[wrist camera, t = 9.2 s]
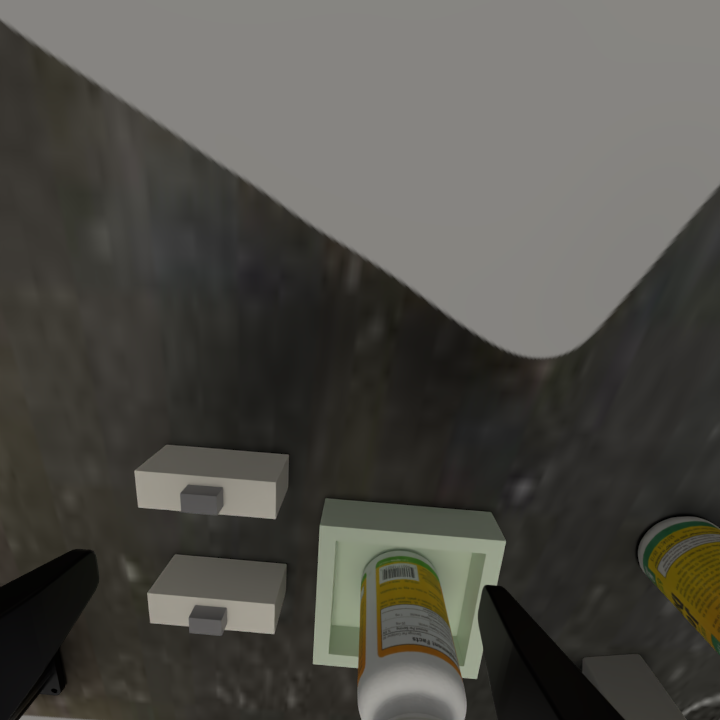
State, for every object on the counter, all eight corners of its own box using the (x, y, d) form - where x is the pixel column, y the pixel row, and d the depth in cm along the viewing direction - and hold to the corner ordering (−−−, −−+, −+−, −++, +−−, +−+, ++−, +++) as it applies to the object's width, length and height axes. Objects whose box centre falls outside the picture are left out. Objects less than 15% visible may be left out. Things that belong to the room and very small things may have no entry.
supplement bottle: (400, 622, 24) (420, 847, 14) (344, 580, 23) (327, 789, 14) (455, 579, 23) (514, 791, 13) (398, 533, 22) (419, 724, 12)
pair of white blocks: (286, 591, 24) (270, 647, 20) (176, 581, 24) (141, 636, 20) (288, 454, 21) (271, 491, 18) (166, 444, 21) (124, 478, 18)
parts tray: (466, 639, 25) (476, 679, 22) (318, 626, 25) (312, 663, 22) (491, 512, 22) (506, 541, 19) (325, 498, 22) (319, 525, 20)
